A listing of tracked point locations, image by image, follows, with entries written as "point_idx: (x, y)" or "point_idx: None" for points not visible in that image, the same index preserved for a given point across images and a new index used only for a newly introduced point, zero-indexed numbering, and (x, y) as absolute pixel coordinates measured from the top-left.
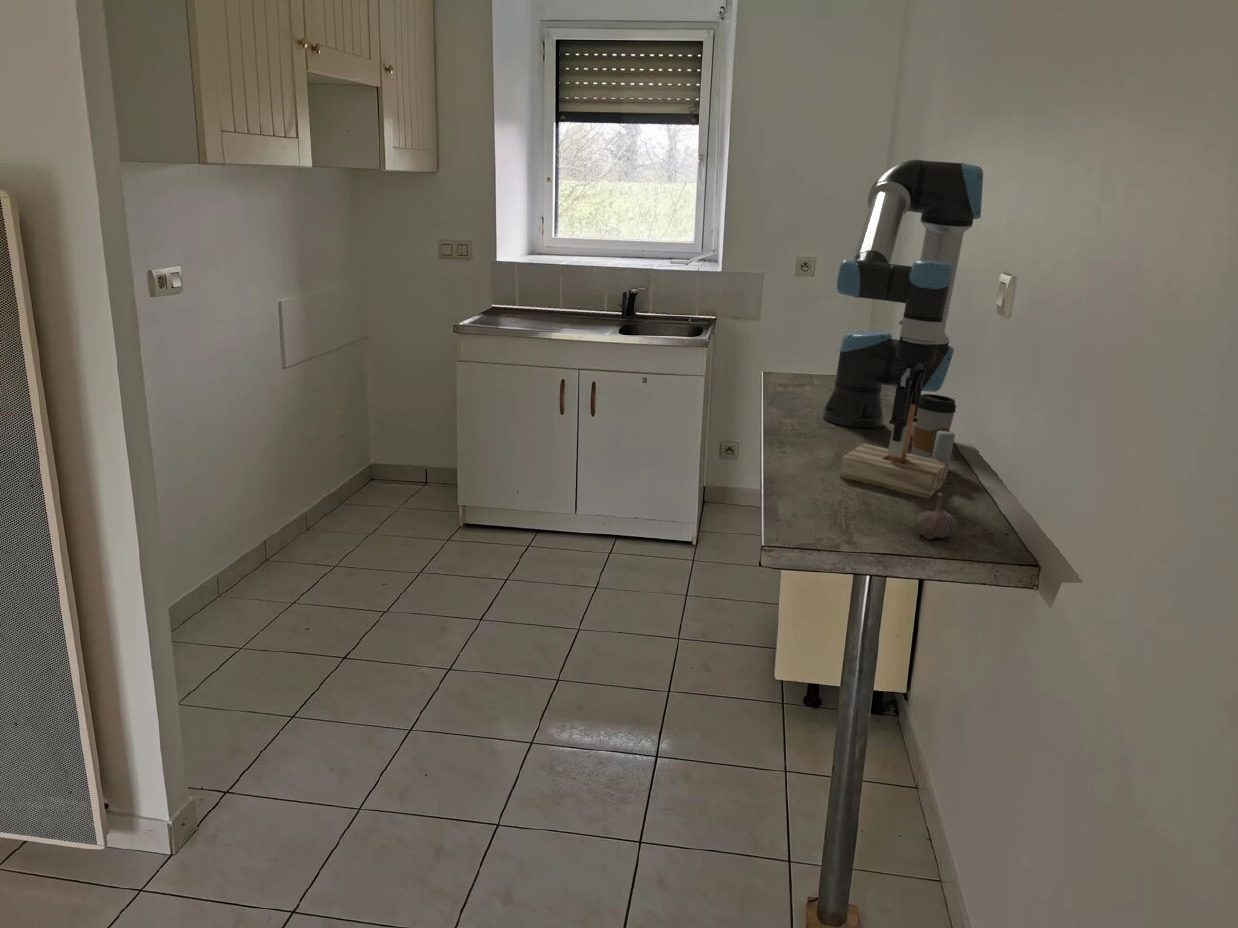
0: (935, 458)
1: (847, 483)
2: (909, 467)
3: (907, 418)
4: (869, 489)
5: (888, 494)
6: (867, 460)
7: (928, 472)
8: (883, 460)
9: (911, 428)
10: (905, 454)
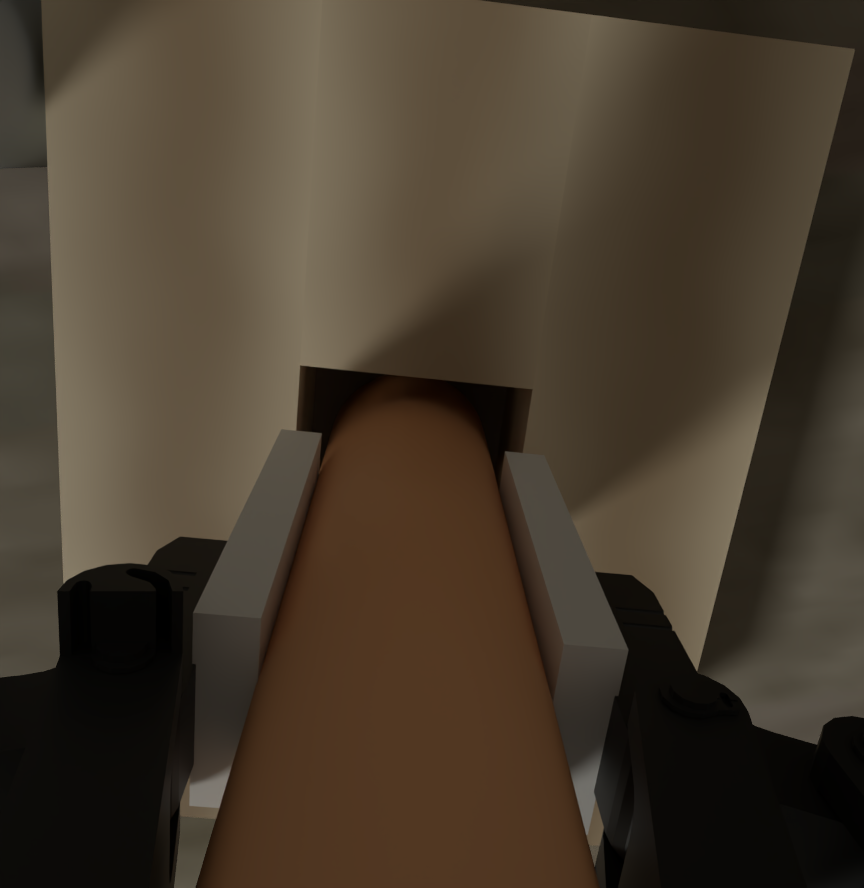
0: (19, 120)
1: (719, 662)
2: (623, 326)
3: (648, 758)
4: (772, 517)
5: (818, 380)
6: None
7: (689, 115)
8: None
9: (228, 564)
10: (441, 431)
